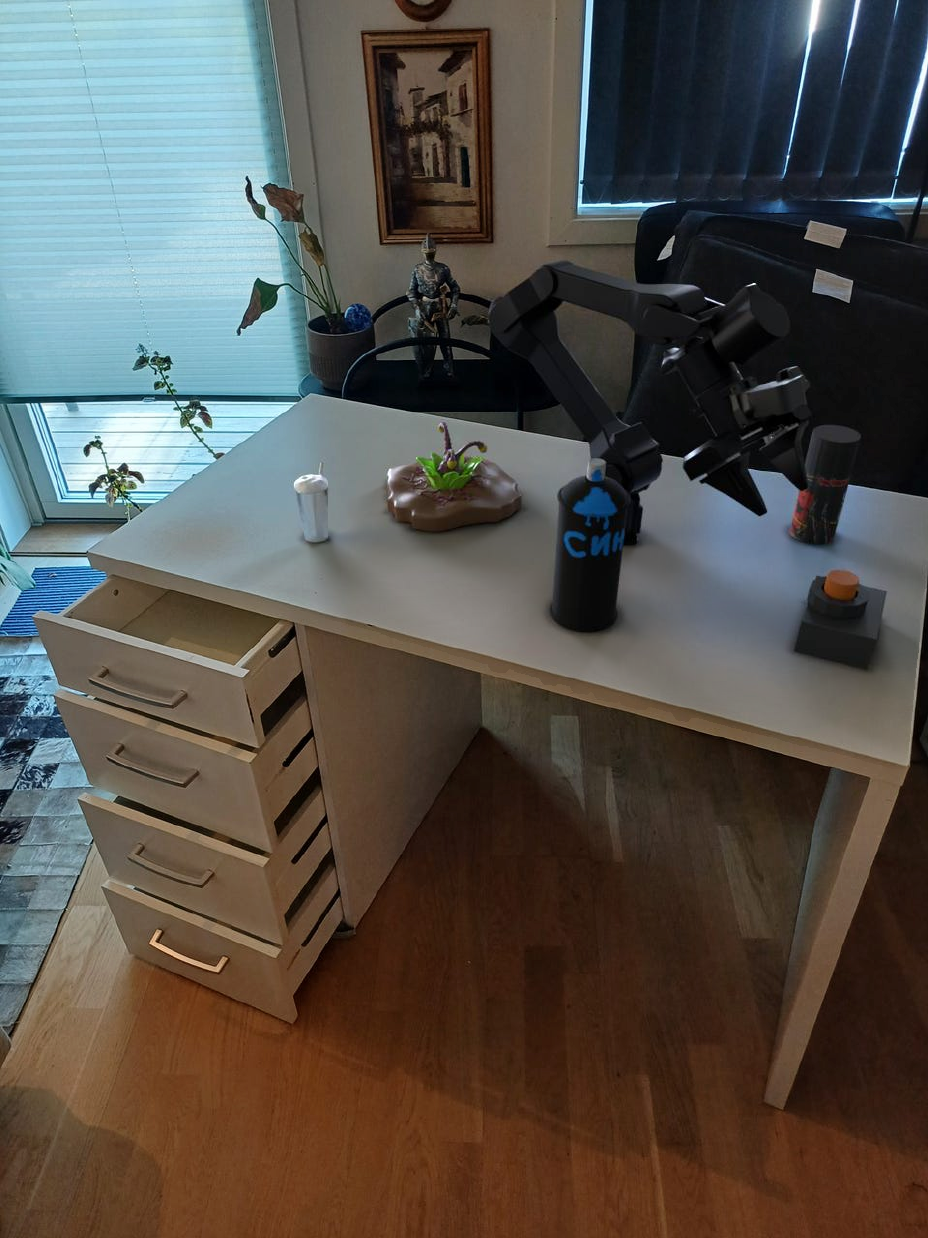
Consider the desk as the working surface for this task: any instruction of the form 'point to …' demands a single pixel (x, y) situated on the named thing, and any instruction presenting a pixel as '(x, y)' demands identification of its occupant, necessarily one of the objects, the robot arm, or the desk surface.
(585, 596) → the aerosol can
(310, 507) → the milkshake
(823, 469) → the deodorant
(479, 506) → the plant
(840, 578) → the orange push button
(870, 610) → the push button box
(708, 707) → the desk surface
